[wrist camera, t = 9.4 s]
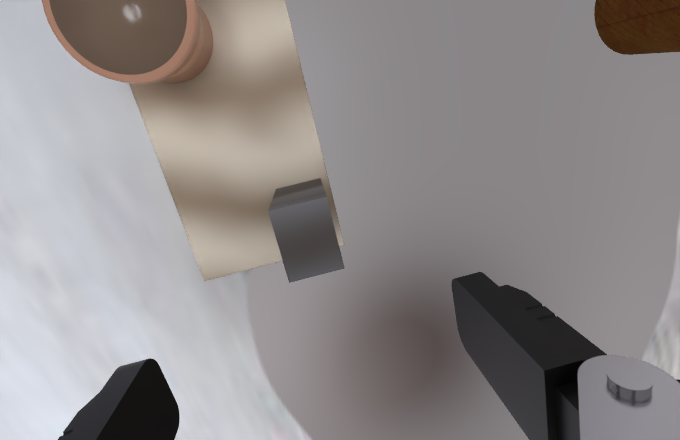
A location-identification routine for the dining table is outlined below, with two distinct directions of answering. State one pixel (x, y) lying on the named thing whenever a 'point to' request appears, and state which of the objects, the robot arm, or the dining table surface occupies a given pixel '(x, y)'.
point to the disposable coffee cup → (639, 25)
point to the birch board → (246, 149)
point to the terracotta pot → (134, 37)
